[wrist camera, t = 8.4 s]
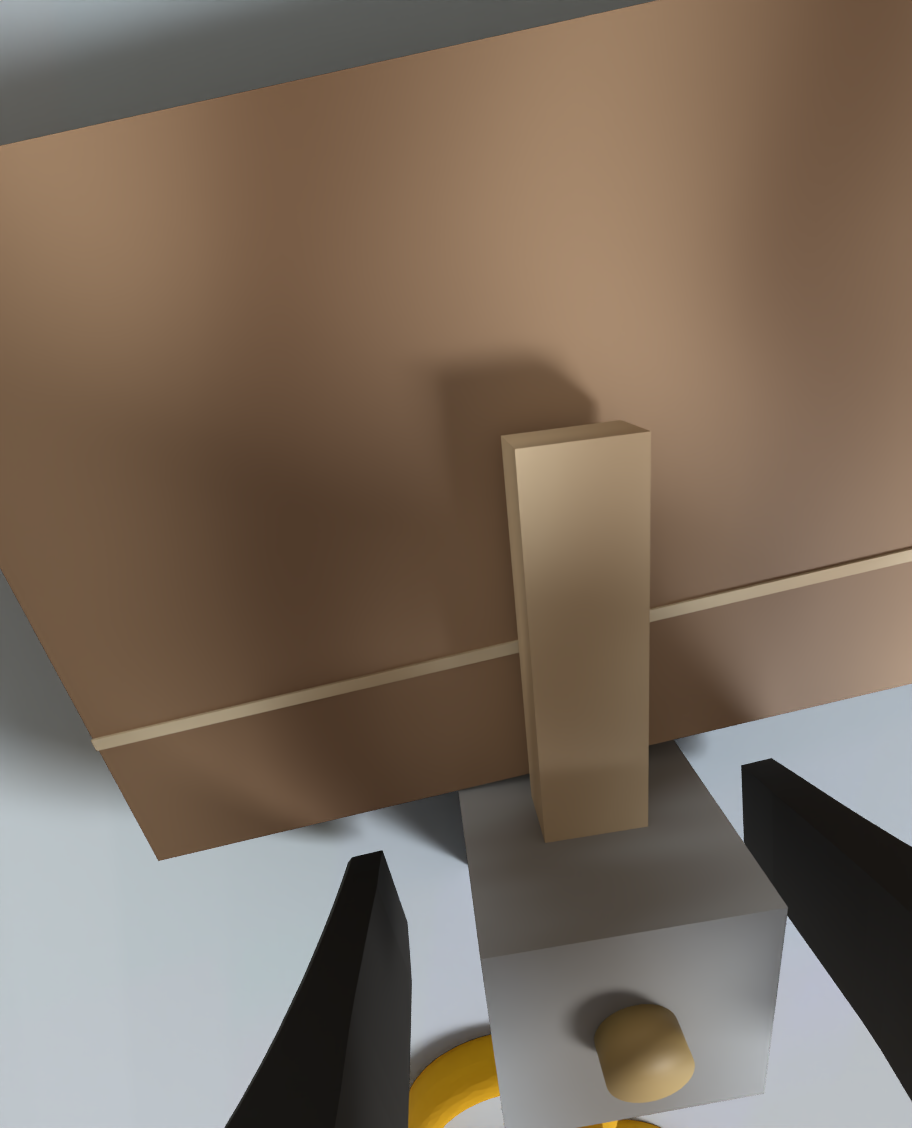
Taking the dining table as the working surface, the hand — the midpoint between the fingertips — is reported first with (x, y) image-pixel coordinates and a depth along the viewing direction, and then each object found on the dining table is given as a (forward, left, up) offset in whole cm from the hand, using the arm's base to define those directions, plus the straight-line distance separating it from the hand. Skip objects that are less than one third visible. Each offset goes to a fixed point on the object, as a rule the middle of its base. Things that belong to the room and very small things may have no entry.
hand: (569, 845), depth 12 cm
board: (-5, -8, -1) cm, 9 cm away
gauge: (0, -3, -2) cm, 4 cm away
